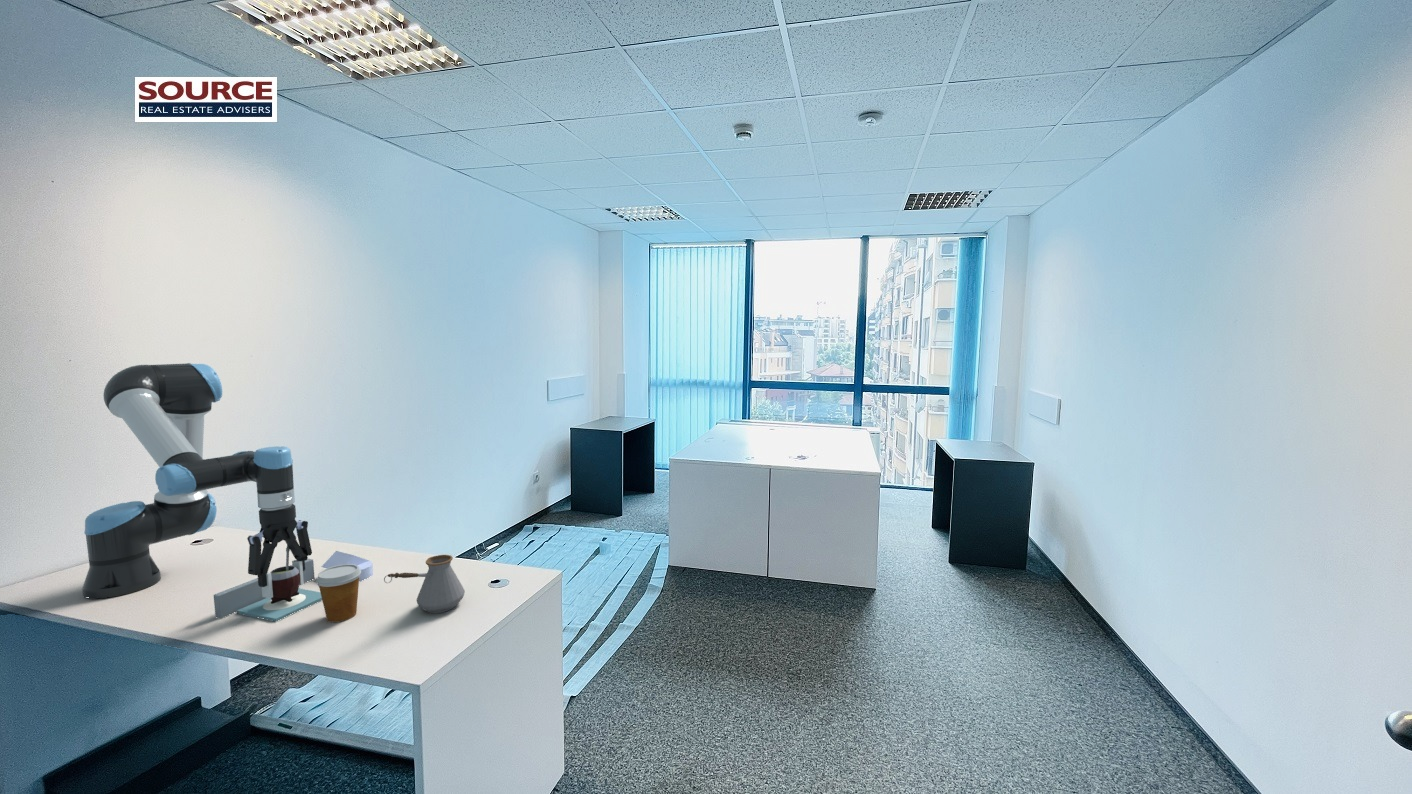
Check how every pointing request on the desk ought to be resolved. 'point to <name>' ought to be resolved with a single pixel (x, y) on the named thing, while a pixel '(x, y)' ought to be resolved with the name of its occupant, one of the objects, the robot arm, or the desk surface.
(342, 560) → the wedge on round base
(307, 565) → the low wall
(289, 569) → the mate gourd
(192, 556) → the desk surface
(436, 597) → the coffee pot
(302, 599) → the mat
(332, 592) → the disposable coffee cup
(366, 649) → the desk surface
